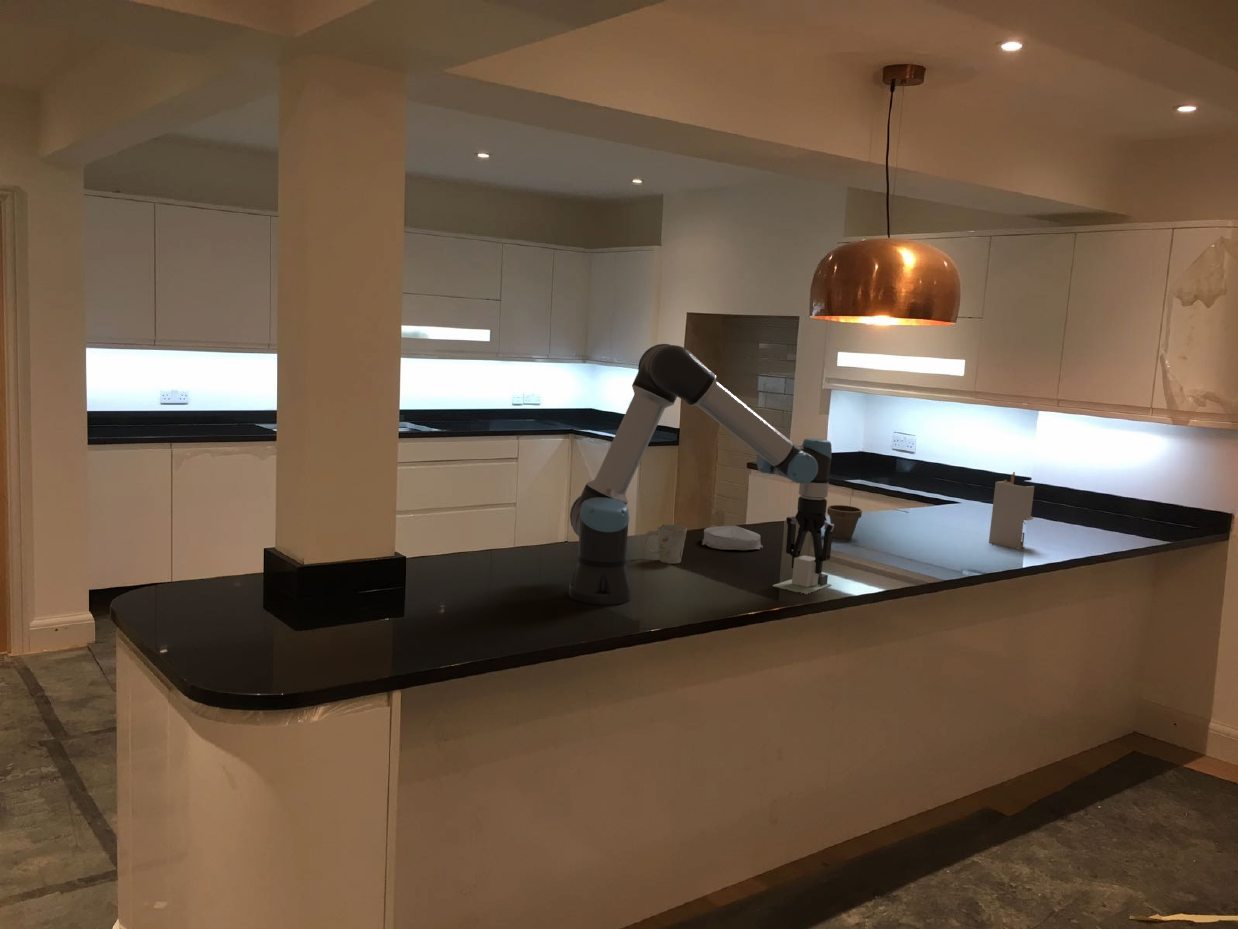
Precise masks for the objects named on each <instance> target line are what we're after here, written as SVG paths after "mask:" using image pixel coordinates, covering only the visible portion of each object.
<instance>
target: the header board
mask: <svg viewBox="0 0 1238 929" xmlns="http://www.w3.org/2000/svg"><path fill="white" fill-rule="evenodd" d="M828 576H829V574H825V573H821V576H820V583H819V584H818V585H815V586H809V587H804V586H800V585H795V584H792V578H791V579H789V580H785V581H782V582H778V583H776V584H773V585H772V587H774V588H777V589H782V590H786V589H787V590H786V591H790V592H794V593H798V592H801V593H800V594H802V593H804V594H803V595H809V594H812V593H815V592H816V591H817V590H818V591H820V590H823V589H825V588H829V587H831V586H832V584H830V583H828V579H829V577H828ZM830 585H831V586H830ZM819 589H820V590H819ZM811 592H812V593H811ZM808 593H809V594H808Z"/></svg>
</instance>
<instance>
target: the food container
mask: <svg viewBox="0 0 1238 929" xmlns="http://www.w3.org/2000/svg"><path fill="white" fill-rule="evenodd" d="M701 540H702V541H701V542H702V543H701V545H703V546H705V545H706V546H707V547H709V548H712V549H718V550H728V551H729V550H731V551H732V550H735V551H737V550H739V551H748V550H751V551H752V550H761V548H762V549H764V547H763V545H762V544H761V535H760V534H759V533H757V532H756V531H755V532H754V531H752V530H749V529H746V528H743V527H741V526H739V525H738V526H737V525H734V524H732V525H721V526H710V527H706V528H704V530H703V539H701Z"/></svg>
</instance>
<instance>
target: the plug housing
mask: <svg viewBox="0 0 1238 929" xmlns="http://www.w3.org/2000/svg"><path fill="white" fill-rule="evenodd" d="M814 560H815V556H809V555H800V556H799V557H796V558H794V566H793V568H792V578H791V579H792V584H795V585H800V586H804V587H809V586H810V584H811V573H812V562H813V561H814Z"/></svg>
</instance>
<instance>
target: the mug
mask: <svg viewBox="0 0 1238 929" xmlns="http://www.w3.org/2000/svg"><path fill="white" fill-rule="evenodd" d="M687 531H688V528H687V527H686V526H684V525H681V524H672V523H665V524H664V523H663V524H658V526H657V530H649V531H647V532H646V533H645V534H644V535H643V538H642V545H643V547H644V549H645V550H646V551H647V552H648V553H650V554H653V555H654V554H655V555H659V561H660V562H661V563H664V564H671V565H673V564H681V561H682V558H683V557H682V556H683V551H684V547H685V541H686V538H687ZM651 536H657V537H658V550H653V549H651V548H650V547H649V544H648V540H649V538H650V537H651Z"/></svg>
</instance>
